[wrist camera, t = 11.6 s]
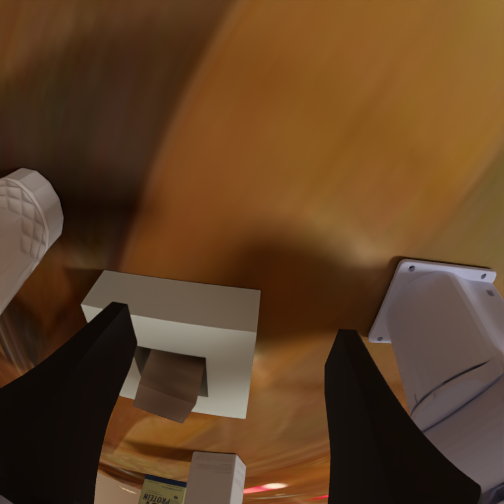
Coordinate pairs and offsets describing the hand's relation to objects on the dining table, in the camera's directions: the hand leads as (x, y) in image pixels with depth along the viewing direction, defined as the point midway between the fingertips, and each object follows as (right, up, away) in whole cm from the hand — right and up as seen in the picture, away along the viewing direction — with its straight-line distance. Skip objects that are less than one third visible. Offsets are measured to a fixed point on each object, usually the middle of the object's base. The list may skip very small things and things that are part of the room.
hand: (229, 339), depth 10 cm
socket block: (-5, -4, +15) cm, 16 cm away
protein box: (-20, -56, +51) cm, 78 cm away
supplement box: (-4, -31, +33) cm, 45 cm away
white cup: (-16, +7, +9) cm, 20 cm away
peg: (-5, -4, +15) cm, 16 cm away
